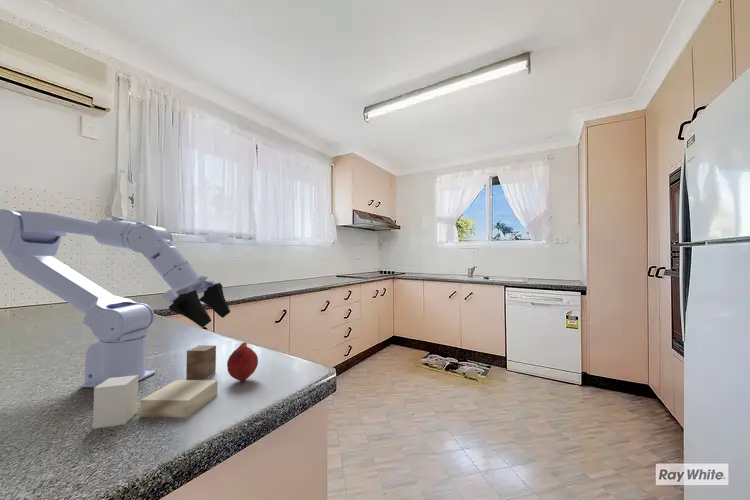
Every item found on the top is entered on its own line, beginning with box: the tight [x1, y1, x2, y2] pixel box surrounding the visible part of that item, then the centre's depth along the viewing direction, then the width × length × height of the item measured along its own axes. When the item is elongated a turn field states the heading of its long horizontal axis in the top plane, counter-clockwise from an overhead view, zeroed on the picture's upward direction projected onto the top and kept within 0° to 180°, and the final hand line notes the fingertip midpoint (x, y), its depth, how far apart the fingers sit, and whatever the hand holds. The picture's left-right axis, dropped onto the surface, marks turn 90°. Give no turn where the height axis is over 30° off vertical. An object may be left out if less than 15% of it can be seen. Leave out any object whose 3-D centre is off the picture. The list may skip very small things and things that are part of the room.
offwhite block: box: [92, 375, 139, 429], centre depth 46 cm, size 4×4×6 cm
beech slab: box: [139, 379, 219, 418], centre depth 51 cm, size 8×8×3 cm
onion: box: [226, 341, 259, 383], centre depth 61 cm, size 6×6×8 cm
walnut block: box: [185, 344, 217, 380], centre depth 64 cm, size 4×4×6 cm
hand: (217, 319), depth 63 cm, fingers open, 7 cm apart
